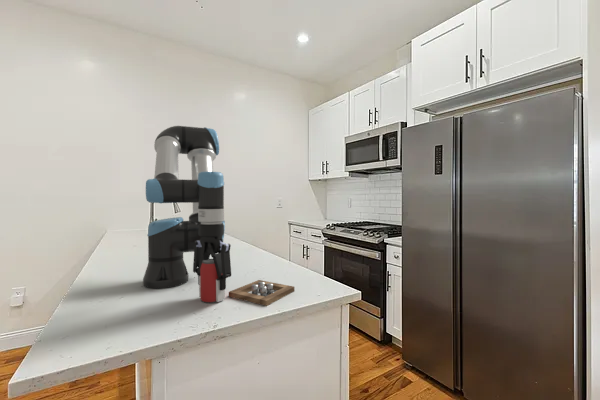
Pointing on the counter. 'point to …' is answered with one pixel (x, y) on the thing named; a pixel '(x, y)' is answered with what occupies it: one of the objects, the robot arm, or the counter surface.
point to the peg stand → (262, 288)
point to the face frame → (263, 300)
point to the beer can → (208, 281)
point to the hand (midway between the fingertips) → (211, 298)
